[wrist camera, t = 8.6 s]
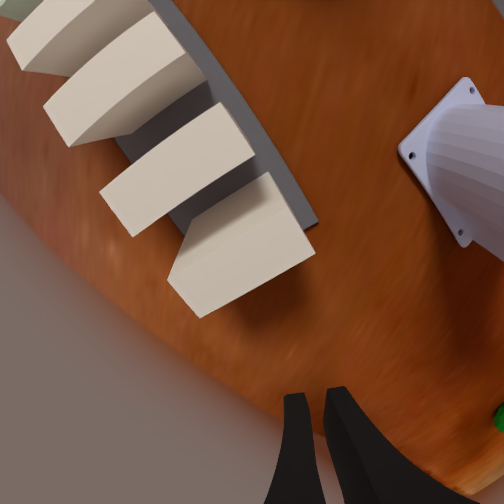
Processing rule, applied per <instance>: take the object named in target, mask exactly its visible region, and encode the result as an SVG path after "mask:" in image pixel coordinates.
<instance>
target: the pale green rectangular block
mask: <svg viewBox="0 0 504 504" xmlns="http://www.w3.org/2000/svg"><path fill="white" fill-rule="evenodd" d="M43 1H44V0H0V16H2V17H6V18H10V19H13V20H17V21H20V22H23V21H24V20H25V19H26V18H27V17H28V16H29V15H30V14H31V13H32V12H33V11H34V10H35V9H36V8H37V7H38V6H39V5H40V4H41V3H42V2H43Z"/></svg>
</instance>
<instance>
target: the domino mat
mask: <svg viewBox="0 0 504 504" xmlns="http://www.w3.org/2000/svg"><path fill="white" fill-rule="evenodd" d="M148 1H149V2H150V3H151V5H152V6H153V7H154V9H155V10H156V11H157V12H158V14H159V15H160V16H161V18H162V19H163V20H164V21H165V23H166V24H167V25H168V28H169V30H170V31H171V32H172V33H173V34H174V36H175V37H176V38H177V39H178V41H179V42H180V43H181V44H182V46H183V47H184V48H185V49H186V51H187V52H188V53H189V55H190V56H191V58H192V59H193V60H194V62H195V63H196V64H197V66H198V67H199V69H200V70H201V71H202V73H203V74H204V76H205V77H206V78H207V80H206V81H205V82H203V83H201V84H200V85H198V86H197V87H195V88H194V89H192V90H191V91H189V92H188V93H186V94H185V95H183V96H182V97H180V98H179V99H178V100H176V101H175V102H173V103H172V104H170V105H169V106H168V107H166V108H165V109H163V110H162V111H161V112H159V113H158V114H157V115H155V116H154V117H153V118H151V119H150V120H149V121H147V122H146V123H145V124H143V125H142V126H141V127H140V128H138V129H137V130H136V131H134V132H133V133H132V134H128V135H122V136H117V137H113V138H114V139H115V141H116V142H117V144H118V145H119V147H120V148H121V149H122V151H123V152H124V154H125V155H126V157H127V158H128V159H129V161H130V162H131V164H134V163H135V162H136V161H137V160H139V159H140V158H141V157H142V156H144V155H145V154H146V153H148V152H149V151H150V150H152V149H153V148H154V147H156V146H157V145H158V144H160V143H161V142H162V141H164V140H165V139H166V138H168V137H169V136H171V135H172V134H173V133H175V132H176V131H178V130H179V129H180V128H182V127H183V126H185V125H186V124H188V123H189V122H191V121H192V120H193V119H195V118H196V117H198V116H199V115H201V114H202V113H204V112H205V111H207V110H209V109H210V108H212V107H213V106H215V105H216V104H218V103H219V102H221V103H222V104H223V105H224V106H225V107H226V108H227V109H228V110H229V112H230V113H231V115H232V116H233V118H234V119H235V121H236V122H237V124H238V125H239V127H240V128H241V130H242V131H243V133H244V134H245V136H246V137H247V139H248V140H249V143H250V145H251V147H252V149H253V151H254V153H255V155H254V156H252V157H251V158H249V159H248V160H246V161H244V162H243V163H241V164H240V165H238V166H236V167H235V168H233V169H232V170H230V171H229V172H227V173H225V174H224V175H222V176H221V177H219V178H218V179H216V180H215V181H213V182H212V183H210V184H209V185H207V186H205V187H204V188H202V189H201V190H199V191H198V192H196V193H195V194H193V195H192V196H191V197H189V198H188V199H186V200H185V201H183V202H182V203H180V204H179V205H177V206H176V207H175V208H173V209H172V210H170V211H169V212H167V214H168V215H169V216H170V218H171V219H172V220H173V222H174V223H175V224H176V226H177V227H178V228H179V230H180V231H181V232H182V234H183V235H184V236H185V235H186V233H187V231H188V228H189V226H190V224H191V221H192V219H194V218H195V217H197V216H198V215H200V214H201V213H203V212H204V211H206V210H208V209H209V208H211V207H212V206H214V205H215V204H217V203H218V202H220V201H221V200H223V199H225V198H226V197H228V196H229V195H231V194H233V193H234V192H236V191H237V190H239V189H240V188H242V187H244V186H245V185H247V184H248V183H250V182H252V181H253V180H255V179H257V178H258V177H260V176H261V175H263V174H265V173H266V172H269V173H270V175H271V177H272V178H273V180H274V181H275V183H276V185H277V186H278V188H279V189H280V191H281V193H282V194H283V196H284V198H285V199H286V201H287V203H288V204H289V206H290V208H291V210H292V211H293V213H294V215H295V217H296V219H297V220H298V222H299V224H300V226H301V228H302V229H303V230H305V229H306V228H308V227H310V226H311V225H313V224H315V223H316V222H318V221H319V220H318V219H317V217H316V215H315V213H314V212H313V210H312V208H311V206H310V205H309V203H308V201H307V199H306V198H305V196H304V194H303V192H302V191H301V189H300V187H299V186H298V184H297V182H296V181H295V179H294V177H293V176H292V174H291V172H290V171H289V169H288V167H287V166H286V164H285V162H284V161H283V159H282V157H281V156H280V154H279V153H278V151H277V149H276V148H275V146H274V145H273V143H272V141H271V140H270V138H269V137H268V135H267V134H266V132H265V130H264V129H263V127H262V126H261V124H260V123H259V121H258V120H257V118H256V117H255V115H254V113H253V112H252V110H251V109H250V107H249V106H248V104H247V103H246V101H245V100H244V98H243V97H242V96H241V94H240V93H239V91H238V90H237V88H236V87H235V85H234V84H233V82H232V81H231V79H230V78H229V77H228V75H227V74H226V72H225V71H224V69H223V68H222V67H221V65H220V64H219V62H218V61H217V60H216V58H215V57H214V56H213V54H212V53H211V51H210V50H209V49H208V47H207V46H206V45H205V43H204V42H203V41H202V39H201V38H200V37H199V35H198V34H197V33H196V31H195V30H194V29H193V27H192V26H191V25H190V23H189V22H188V21H187V19H186V18H185V17H184V16H183V14H182V13H181V12H180V11H179V9H178V8H177V7H176V5H175V4H174V3H173V2H172V1H171V0H148Z"/></svg>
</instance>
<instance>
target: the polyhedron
mask: <svg viewBox="0 0 504 504" xmlns="http://www.w3.org/2000/svg"><path fill="white" fill-rule="evenodd" d="M494 425H495V427H496V428H497V429H498V430H499V431H500V432H504V404H503V405H501V406H500V407H499V408H498V410H497V412H496V414H495V416H494Z"/></svg>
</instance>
